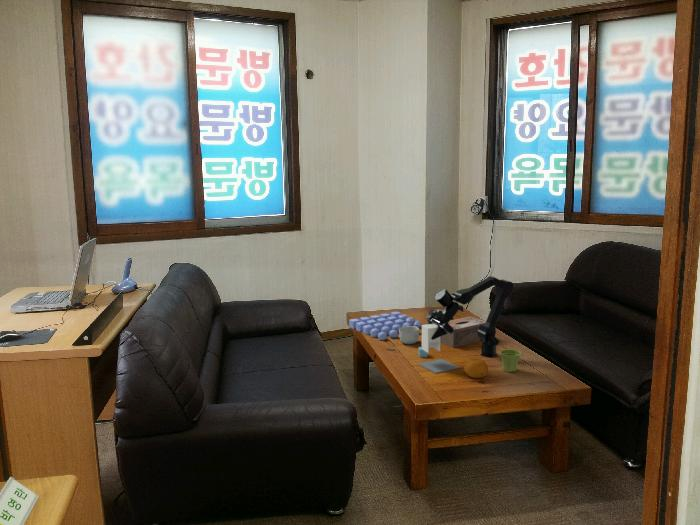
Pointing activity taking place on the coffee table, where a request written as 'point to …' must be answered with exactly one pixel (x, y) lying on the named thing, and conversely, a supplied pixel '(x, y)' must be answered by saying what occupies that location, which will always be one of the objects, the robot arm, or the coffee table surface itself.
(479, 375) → the fruit
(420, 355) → the block
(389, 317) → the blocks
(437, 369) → the mat
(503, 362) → the plant pot
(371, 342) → the coffee table surface
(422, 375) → the coffee table surface
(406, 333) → the teacup
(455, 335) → the tissue box cover
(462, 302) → the robot arm
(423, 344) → the tall white pillar
